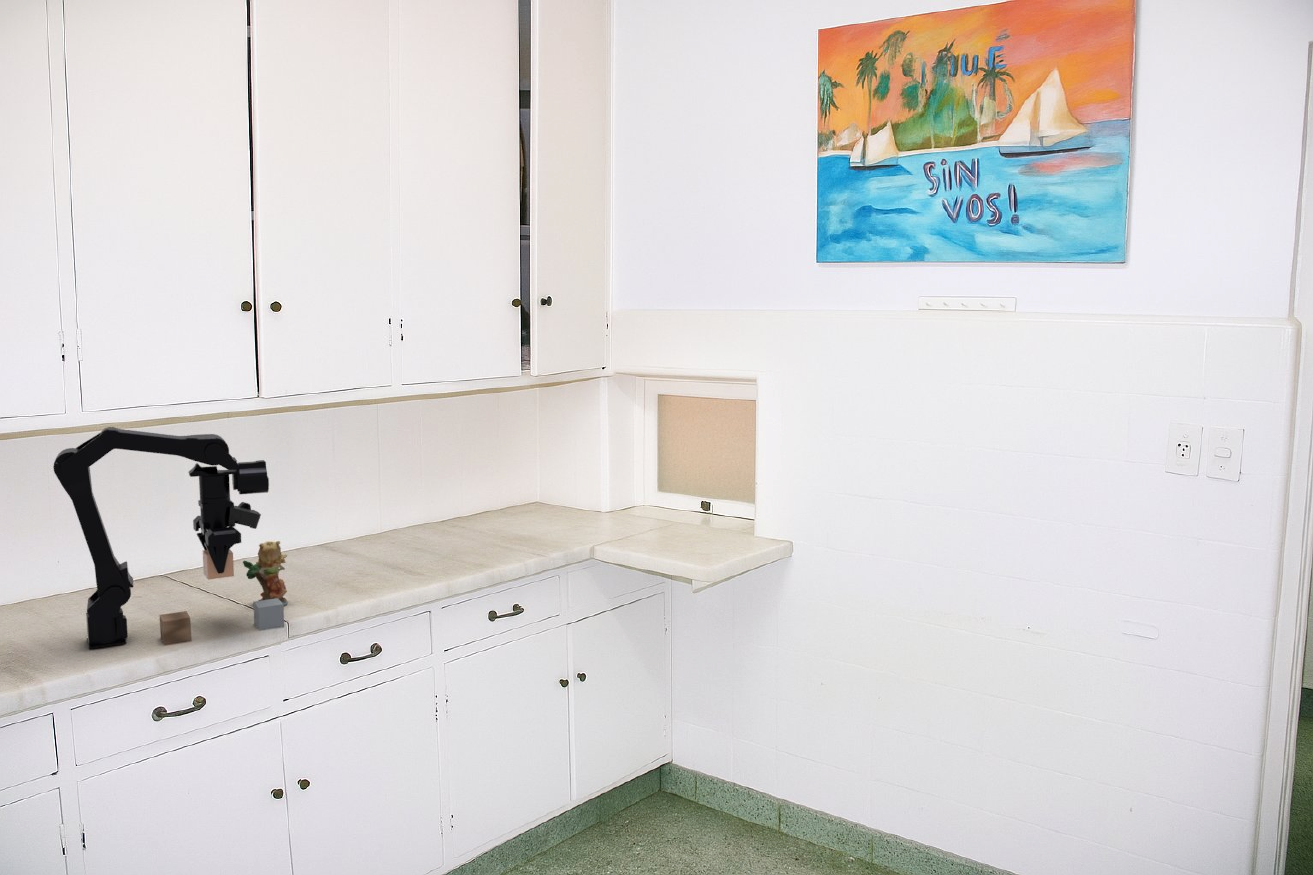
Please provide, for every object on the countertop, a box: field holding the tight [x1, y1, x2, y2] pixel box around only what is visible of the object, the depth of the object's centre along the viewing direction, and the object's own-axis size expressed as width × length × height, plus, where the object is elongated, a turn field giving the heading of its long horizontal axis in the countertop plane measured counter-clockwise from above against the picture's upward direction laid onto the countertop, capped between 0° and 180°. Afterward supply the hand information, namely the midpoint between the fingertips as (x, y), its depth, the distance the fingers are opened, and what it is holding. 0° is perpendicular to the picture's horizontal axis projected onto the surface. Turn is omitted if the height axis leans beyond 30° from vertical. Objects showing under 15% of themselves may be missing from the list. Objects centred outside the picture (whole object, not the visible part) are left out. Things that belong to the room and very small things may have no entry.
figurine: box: [242, 540, 288, 606], centre depth 229 cm, size 9×8×15 cm
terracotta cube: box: [202, 548, 235, 580], centre depth 211 cm, size 5×5×5 cm
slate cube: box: [252, 598, 285, 631], centre depth 215 cm, size 5×5×5 cm
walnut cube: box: [158, 610, 192, 646], centre depth 206 cm, size 5×5×5 cm
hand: (218, 570), depth 212 cm, fingers closed on terracotta cube, 5 cm apart
